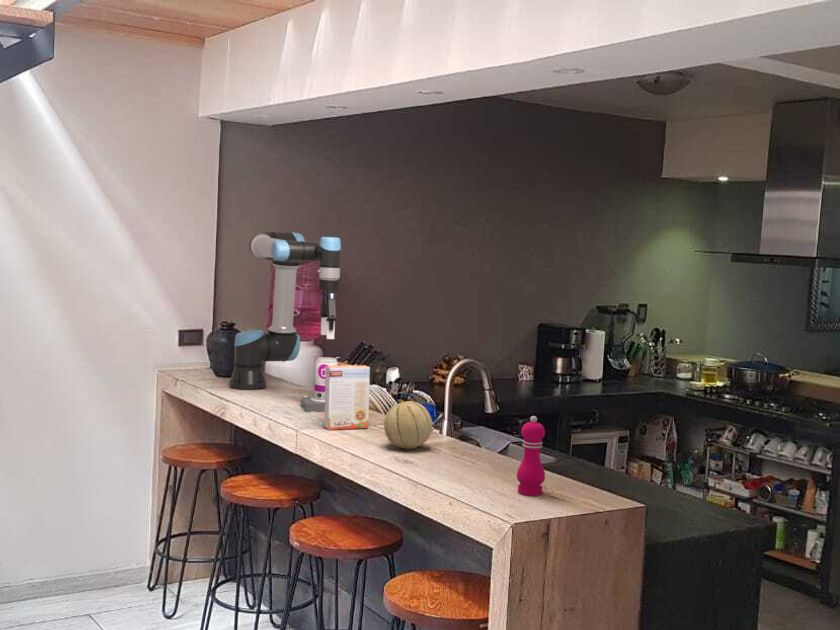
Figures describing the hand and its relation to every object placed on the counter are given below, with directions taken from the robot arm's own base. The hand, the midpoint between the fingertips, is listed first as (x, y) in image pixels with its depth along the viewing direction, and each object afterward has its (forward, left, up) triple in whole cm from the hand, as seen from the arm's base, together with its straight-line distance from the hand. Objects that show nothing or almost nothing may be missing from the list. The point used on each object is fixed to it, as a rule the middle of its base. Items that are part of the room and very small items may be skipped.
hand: (327, 337), depth 356 cm
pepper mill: (+123, +33, -27) cm, 130 cm away
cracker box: (+37, +1, -27) cm, 46 cm away
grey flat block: (0, 0, -26) cm, 27 cm away
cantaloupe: (+69, +14, -27) cm, 75 cm away
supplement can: (0, 0, -23) cm, 23 cm away
